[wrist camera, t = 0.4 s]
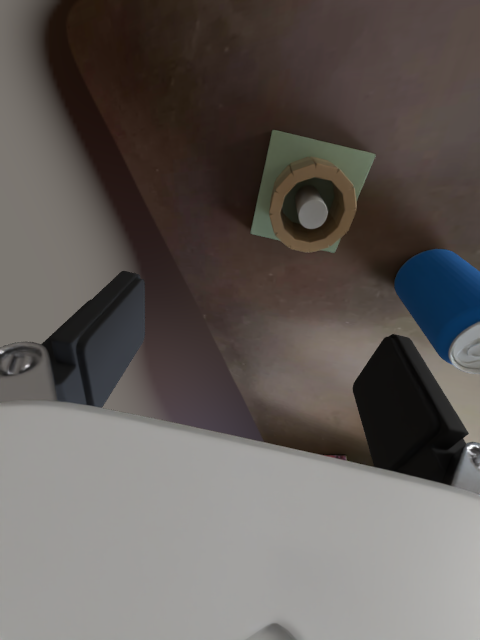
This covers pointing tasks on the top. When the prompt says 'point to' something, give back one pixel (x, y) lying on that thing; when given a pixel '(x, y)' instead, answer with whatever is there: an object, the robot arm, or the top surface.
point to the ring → (337, 215)
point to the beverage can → (444, 304)
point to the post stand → (306, 181)
